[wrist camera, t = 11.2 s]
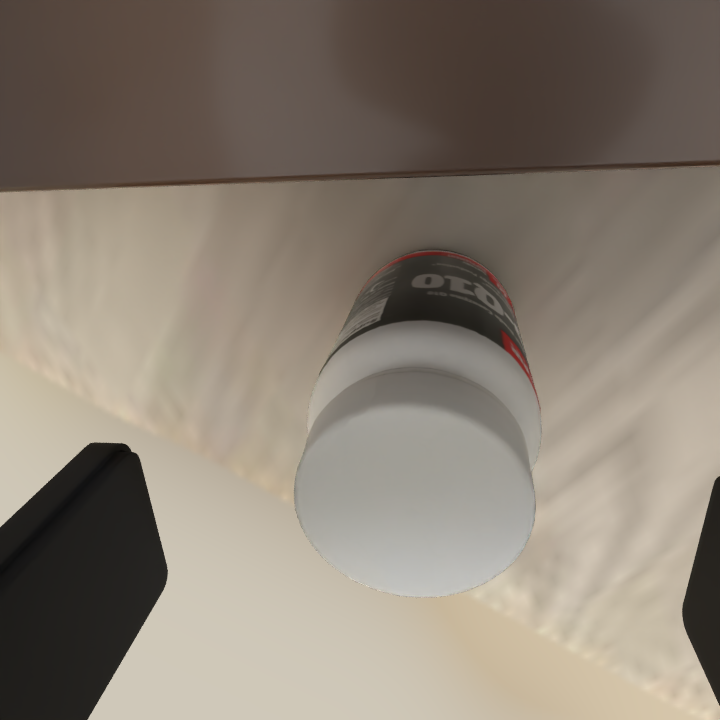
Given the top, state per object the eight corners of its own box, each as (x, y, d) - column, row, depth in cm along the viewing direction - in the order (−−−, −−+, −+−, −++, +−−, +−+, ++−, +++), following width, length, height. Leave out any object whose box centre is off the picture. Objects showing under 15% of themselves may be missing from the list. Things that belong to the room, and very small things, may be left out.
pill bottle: (549, 314, 16) (635, 508, 8) (441, 421, 18) (435, 654, 10) (419, 211, 15) (388, 321, 8) (323, 333, 17) (224, 515, 10)
